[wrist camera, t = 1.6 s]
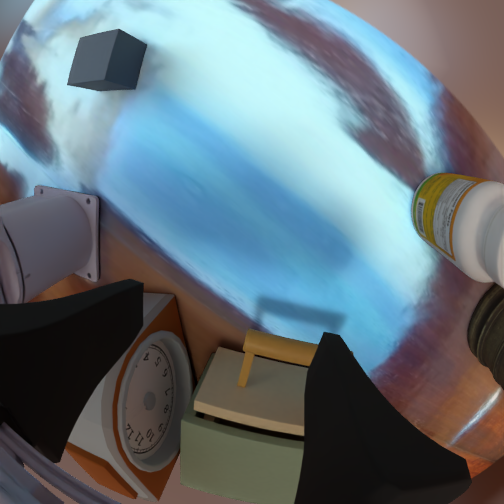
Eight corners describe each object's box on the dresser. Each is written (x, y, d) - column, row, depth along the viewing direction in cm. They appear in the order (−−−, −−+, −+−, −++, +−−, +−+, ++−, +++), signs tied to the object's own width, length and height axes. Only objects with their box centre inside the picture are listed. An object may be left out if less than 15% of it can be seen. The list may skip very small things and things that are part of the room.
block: (98, 91, 18) (66, 85, 14) (109, 49, 16) (79, 37, 13) (135, 89, 17) (104, 80, 14) (147, 44, 16) (119, 28, 12)
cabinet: (212, 352, 24) (180, 420, 16) (347, 382, 23) (354, 454, 15) (200, 433, 29) (180, 484, 21) (299, 455, 28) (293, 508, 20)
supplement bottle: (478, 209, 16) (563, 248, 7) (437, 259, 18) (507, 327, 9) (439, 156, 15) (531, 164, 6) (395, 209, 17) (468, 257, 8)
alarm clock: (206, 412, 27) (165, 513, 14) (140, 398, 28) (88, 481, 16) (178, 294, 22) (78, 415, 10) (101, 289, 24) (0, 370, 11)
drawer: (227, 295, 20) (199, 346, 15) (373, 329, 19) (391, 386, 14) (204, 429, 27) (188, 471, 21) (301, 450, 26) (297, 494, 20)
